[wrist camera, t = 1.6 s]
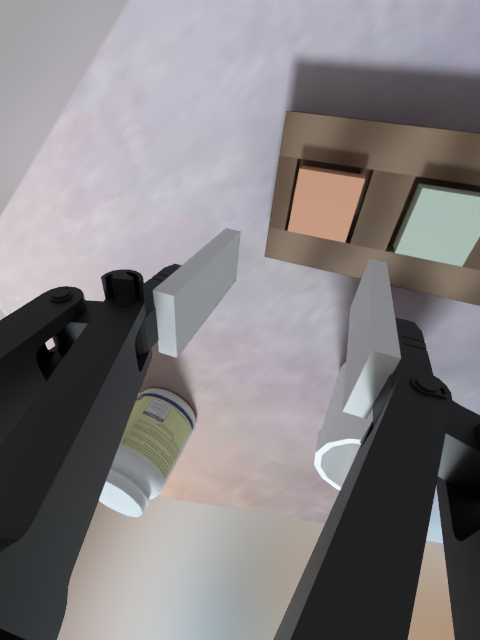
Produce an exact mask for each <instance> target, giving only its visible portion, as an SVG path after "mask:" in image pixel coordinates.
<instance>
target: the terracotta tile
mask: <svg viewBox="0 0 480 640" xmlns="http://www.w3.org/2000/svg"><path fill="white" fill-rule="evenodd" d="M364 182H365V174H358V173H352V172H345V171H339V170H332V169H326V168H319V167H313V166H307V165H303V166H302V167H301V168H300V169H299V174H298V179H297V184H296V189H295V195H294V200H293V205H292V211H291V216H290V221H289V226H288V231H290V232H295V233H300V234H305V235H310V236H314V237H319V238H324V239H329V240H334V241H339V242H344V243H345V242H346V239H347V235H348V232H349V229H350V226H351V223H352V220H353V216H354V213H355V210H356V207H357V204H358V201H359V197H360V194H361V191H362V188H363V185H364Z"/></svg>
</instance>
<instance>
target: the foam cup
mask: <svg viewBox="0 0 480 640" xmlns="http://www.w3.org/2000/svg"><path fill="white" fill-rule="evenodd" d="M345 372H346V362H345V363H344V364H343V365H342V366H341V368H340V370H339V374H338V377H337V380H336V383H335V387H334V390H333V393H332V397H331V400H330V403H329V406H328V410H327V413H326V416H325V420H324V423H323V426H322V429H321V430H320V431H319V433H318V440H317V447H316V454H315V463H314V466H315V467H316V469H317V470H318V472H319V474H320V475H321V477H322V478H323V479H324V480H325V481H327V482H328V483H329V484H331V485H332V486H333V487H335V488H336V489H338V490H341V488H342V485H343V483H344V481H345V479H346V476H347V474H348V472H349V470H350V467H351V465H352V463H353V461H354V458H355V456H356V454H357V452H358V449H359V447H360V445H361V443H360V441H361V439H362V438H363V436H364V434H365V433H366V431H367V429H368V428H369V426H370V424H371V423H372V421H373V408H372V410H371V412H370V414H369V415H368V417H367V419H365V418H361V417H358V416H355V415H352V414H349V413H346V412H343V400H344V386H345Z"/></svg>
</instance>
